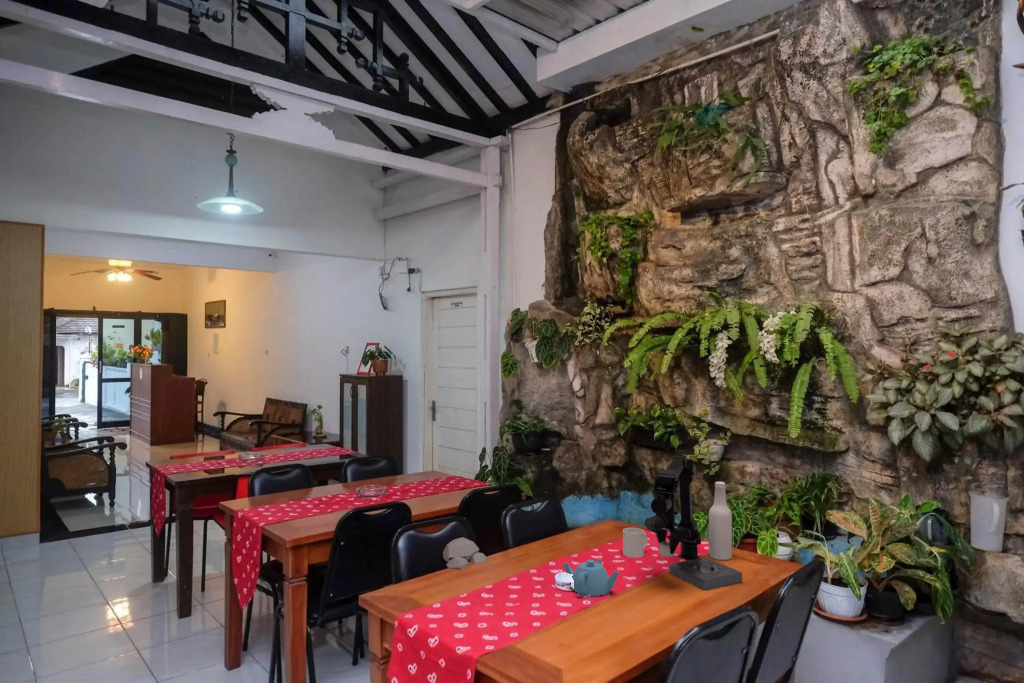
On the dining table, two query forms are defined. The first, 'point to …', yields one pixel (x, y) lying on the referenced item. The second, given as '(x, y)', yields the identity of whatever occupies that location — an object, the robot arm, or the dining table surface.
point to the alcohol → (720, 526)
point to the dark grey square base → (705, 573)
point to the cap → (665, 549)
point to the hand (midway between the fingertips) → (667, 551)
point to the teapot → (591, 578)
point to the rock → (462, 553)
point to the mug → (634, 542)
